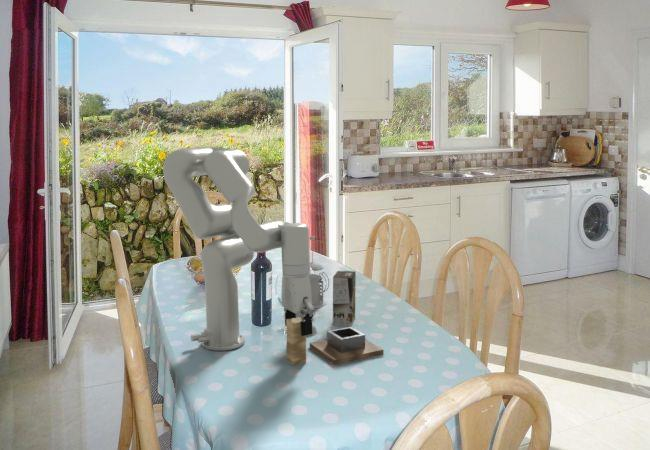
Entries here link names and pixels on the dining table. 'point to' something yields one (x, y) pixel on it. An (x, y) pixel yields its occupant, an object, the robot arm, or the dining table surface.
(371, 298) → the dining table surface
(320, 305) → the french press
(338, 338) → the grey square socket
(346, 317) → the coffee box
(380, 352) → the board
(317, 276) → the chalice
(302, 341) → the rail post
